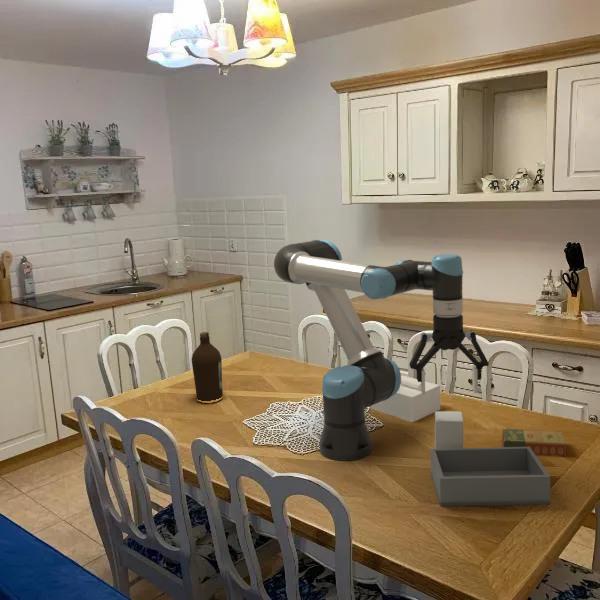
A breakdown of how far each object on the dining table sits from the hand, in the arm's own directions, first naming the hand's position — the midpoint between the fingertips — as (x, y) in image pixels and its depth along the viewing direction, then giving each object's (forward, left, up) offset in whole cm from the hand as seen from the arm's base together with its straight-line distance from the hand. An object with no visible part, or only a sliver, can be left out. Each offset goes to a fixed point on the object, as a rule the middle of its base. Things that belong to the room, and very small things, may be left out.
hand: (449, 392), depth 164 cm
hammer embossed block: (-11, +40, -20) cm, 46 cm away
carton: (+24, +6, -20) cm, 32 cm away
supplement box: (0, 0, -20) cm, 20 cm away
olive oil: (-77, +52, -20) cm, 95 cm away
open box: (+6, -16, -19) cm, 26 cm away
